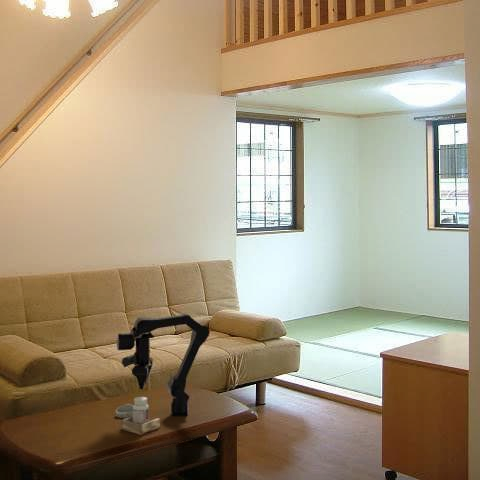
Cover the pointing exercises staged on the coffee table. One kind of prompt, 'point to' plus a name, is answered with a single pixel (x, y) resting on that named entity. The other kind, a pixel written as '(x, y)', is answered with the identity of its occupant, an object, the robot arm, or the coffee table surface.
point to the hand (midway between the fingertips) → (142, 386)
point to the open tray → (139, 426)
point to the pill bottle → (140, 410)
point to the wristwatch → (125, 411)
